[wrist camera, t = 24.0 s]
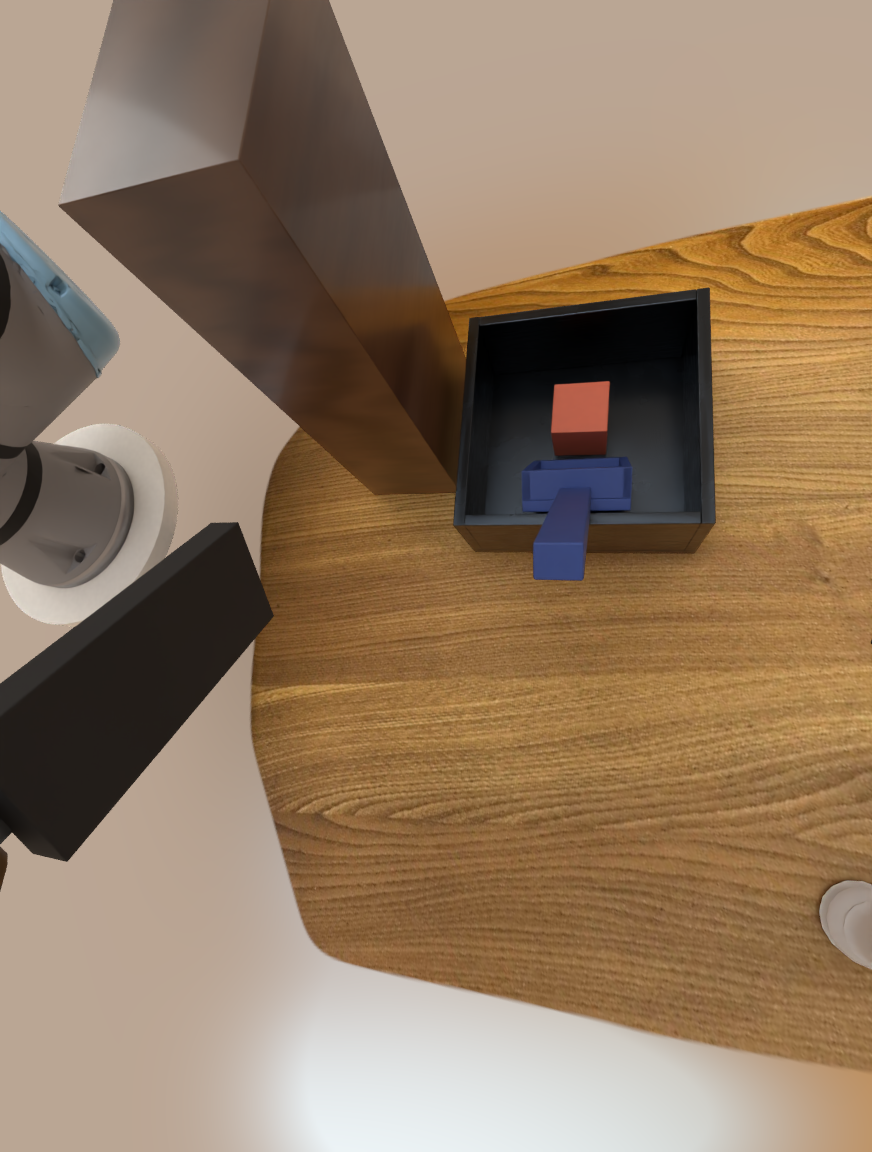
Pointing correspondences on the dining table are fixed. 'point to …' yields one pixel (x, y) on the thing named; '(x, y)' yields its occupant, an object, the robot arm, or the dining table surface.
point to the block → (580, 418)
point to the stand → (274, 224)
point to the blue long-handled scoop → (571, 508)
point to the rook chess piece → (849, 919)
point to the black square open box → (635, 418)
